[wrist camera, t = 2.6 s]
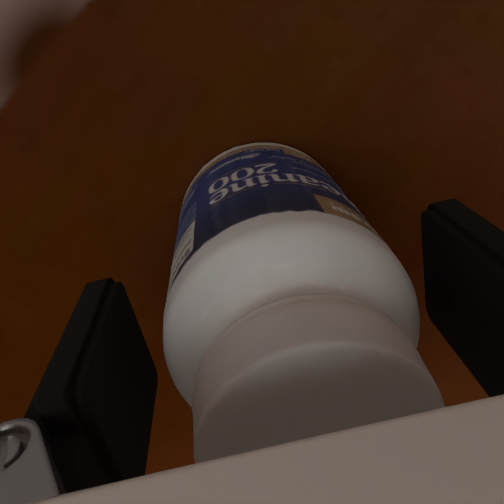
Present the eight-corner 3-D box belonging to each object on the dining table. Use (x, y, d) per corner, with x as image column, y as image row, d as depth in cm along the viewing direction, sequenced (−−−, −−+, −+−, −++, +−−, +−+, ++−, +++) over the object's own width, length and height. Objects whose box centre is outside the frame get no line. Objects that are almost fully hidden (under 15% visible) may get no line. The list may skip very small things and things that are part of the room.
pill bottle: (356, 153, 15) (557, 323, 7) (316, 294, 17) (425, 563, 9) (191, 124, 14) (165, 273, 6) (170, 276, 17) (129, 553, 8)
